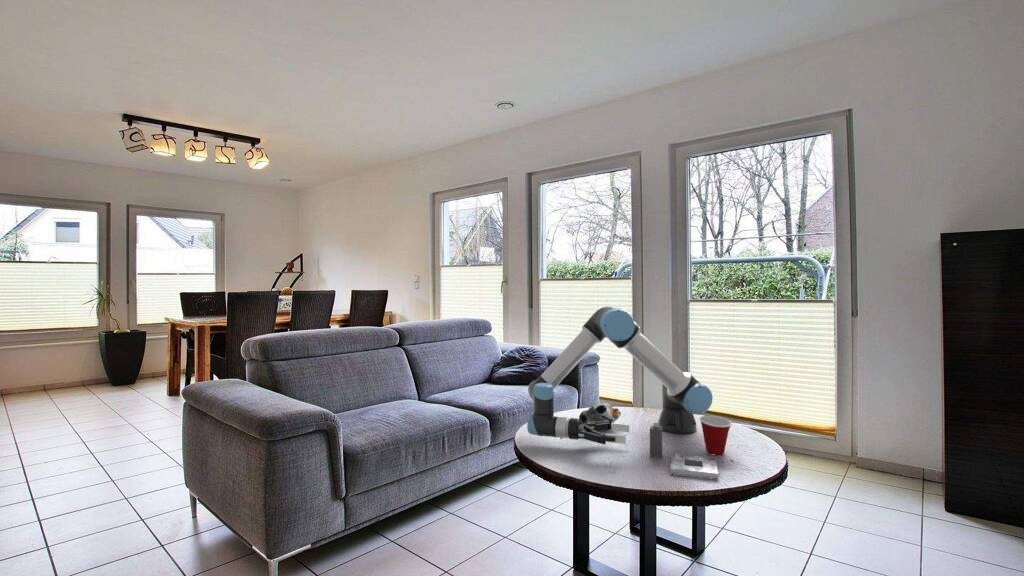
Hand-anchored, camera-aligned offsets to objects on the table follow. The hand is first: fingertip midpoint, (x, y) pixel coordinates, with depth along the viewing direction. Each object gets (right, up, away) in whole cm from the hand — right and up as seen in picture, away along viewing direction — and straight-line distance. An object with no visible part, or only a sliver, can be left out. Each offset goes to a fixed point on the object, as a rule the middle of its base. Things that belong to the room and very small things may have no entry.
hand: (627, 433), depth 181 cm
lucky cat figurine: (-5, -7, +30) cm, 31 cm away
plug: (+9, -7, -3) cm, 12 cm away
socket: (+18, -7, -15) cm, 25 cm away
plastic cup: (+31, -7, 0) cm, 32 cm away
